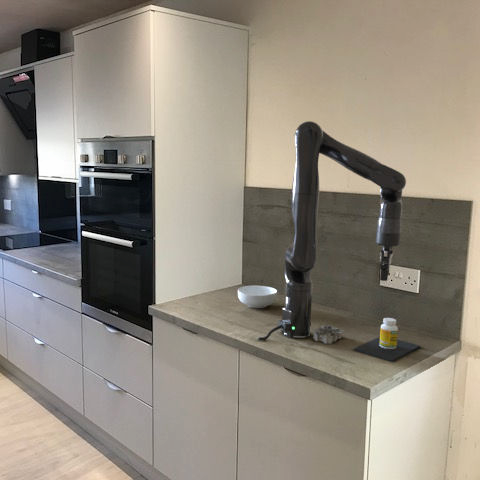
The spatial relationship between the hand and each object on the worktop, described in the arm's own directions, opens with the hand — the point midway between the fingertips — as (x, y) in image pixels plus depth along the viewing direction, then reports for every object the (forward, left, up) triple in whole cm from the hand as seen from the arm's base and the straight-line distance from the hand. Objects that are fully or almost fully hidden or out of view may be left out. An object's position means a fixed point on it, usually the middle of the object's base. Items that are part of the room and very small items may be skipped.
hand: (384, 278), depth 179 cm
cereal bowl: (-17, +54, -23) cm, 61 cm away
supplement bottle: (-1, -5, -23) cm, 23 cm away
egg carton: (-15, +9, -23) cm, 29 cm away
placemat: (-1, -5, -23) cm, 24 cm away
